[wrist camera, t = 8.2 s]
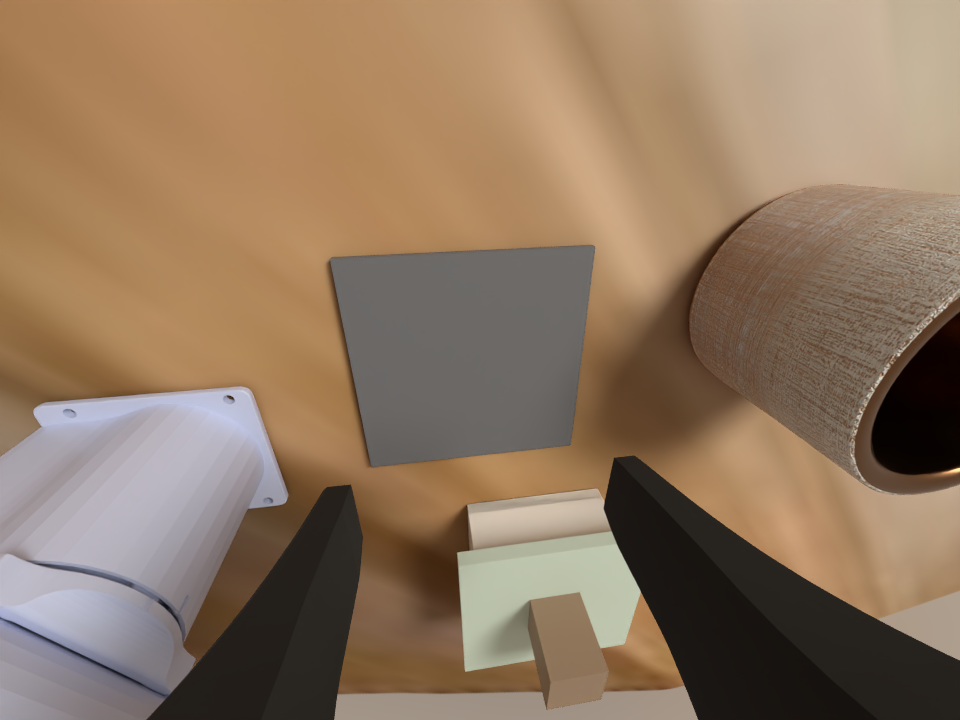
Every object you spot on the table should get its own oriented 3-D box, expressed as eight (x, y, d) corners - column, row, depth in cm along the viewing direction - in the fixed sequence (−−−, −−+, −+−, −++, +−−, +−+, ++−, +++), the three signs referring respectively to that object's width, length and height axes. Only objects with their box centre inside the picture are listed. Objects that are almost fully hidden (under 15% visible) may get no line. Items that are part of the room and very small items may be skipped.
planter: (860, 336, 24) (1103, 437, 15) (690, 401, 24) (834, 534, 16) (890, 145, 18) (1287, 140, 10) (671, 235, 19) (872, 301, 10)
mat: (371, 462, 23) (371, 467, 22) (331, 257, 17) (330, 259, 17) (568, 440, 24) (570, 445, 24) (591, 244, 18) (595, 246, 18)
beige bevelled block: (470, 586, 30) (478, 652, 26) (467, 504, 26) (476, 568, 22) (582, 569, 31) (606, 630, 27) (597, 488, 27) (628, 546, 23)
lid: (463, 657, 26) (472, 754, 22) (457, 552, 21) (467, 653, 17) (619, 631, 27) (655, 718, 23) (649, 525, 22) (703, 613, 18)
